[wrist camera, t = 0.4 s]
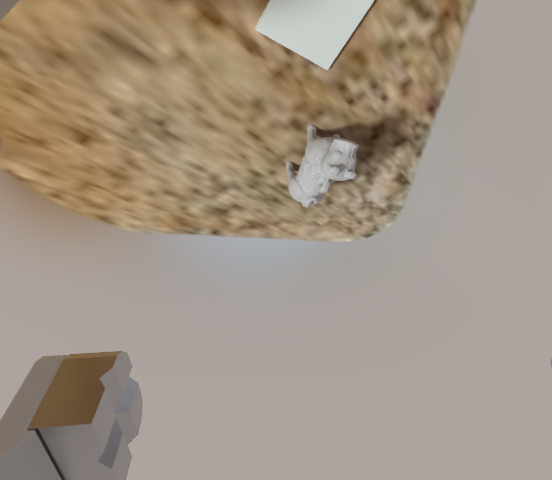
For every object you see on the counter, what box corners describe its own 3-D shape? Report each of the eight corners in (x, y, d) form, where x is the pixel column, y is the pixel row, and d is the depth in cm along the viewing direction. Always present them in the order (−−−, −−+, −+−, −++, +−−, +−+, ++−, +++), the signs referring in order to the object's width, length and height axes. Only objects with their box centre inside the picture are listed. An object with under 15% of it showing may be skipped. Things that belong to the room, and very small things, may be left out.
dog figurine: (356, 112, 59) (375, 159, 52) (312, 183, 67) (323, 232, 60) (321, 98, 57) (336, 146, 50) (280, 173, 65) (288, 223, 58)
